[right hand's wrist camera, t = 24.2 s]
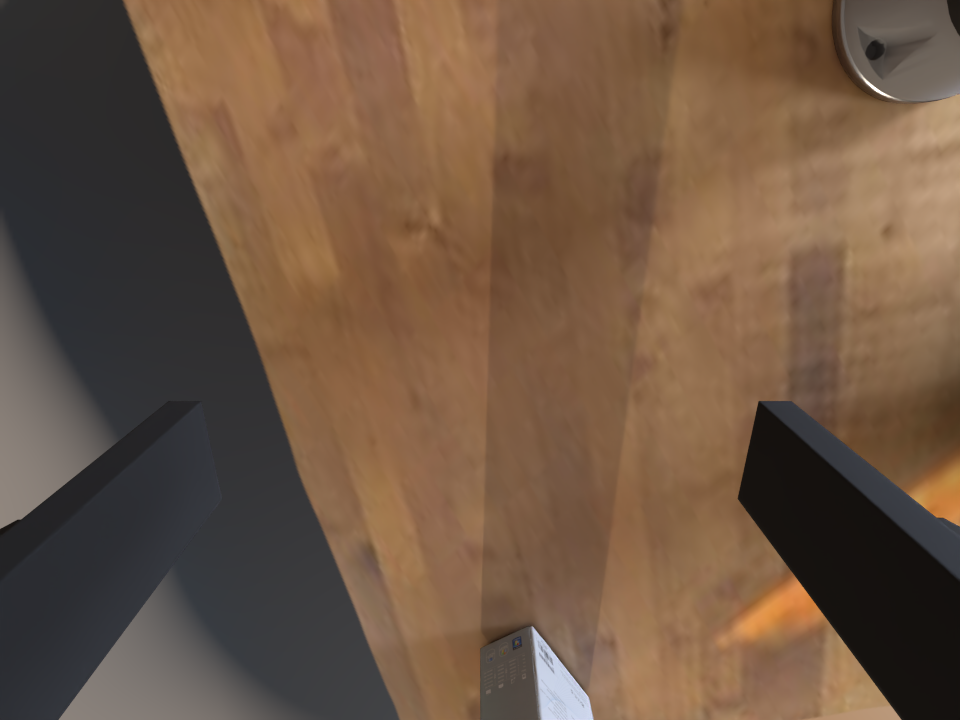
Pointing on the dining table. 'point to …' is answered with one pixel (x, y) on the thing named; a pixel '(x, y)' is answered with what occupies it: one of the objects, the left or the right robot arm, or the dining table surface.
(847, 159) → the dining table surface
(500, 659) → the hard drive box
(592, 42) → the dining table surface
